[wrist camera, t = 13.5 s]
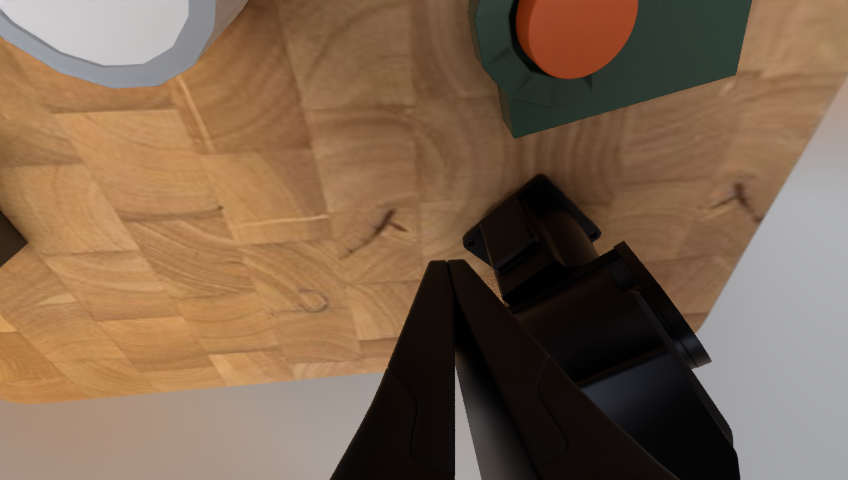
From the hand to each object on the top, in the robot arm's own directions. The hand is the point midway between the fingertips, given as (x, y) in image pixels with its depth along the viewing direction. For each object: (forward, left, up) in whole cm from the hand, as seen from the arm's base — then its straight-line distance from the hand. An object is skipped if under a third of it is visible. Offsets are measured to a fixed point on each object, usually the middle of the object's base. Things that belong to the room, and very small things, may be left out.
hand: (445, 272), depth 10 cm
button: (-1, -7, -9) cm, 11 cm away
